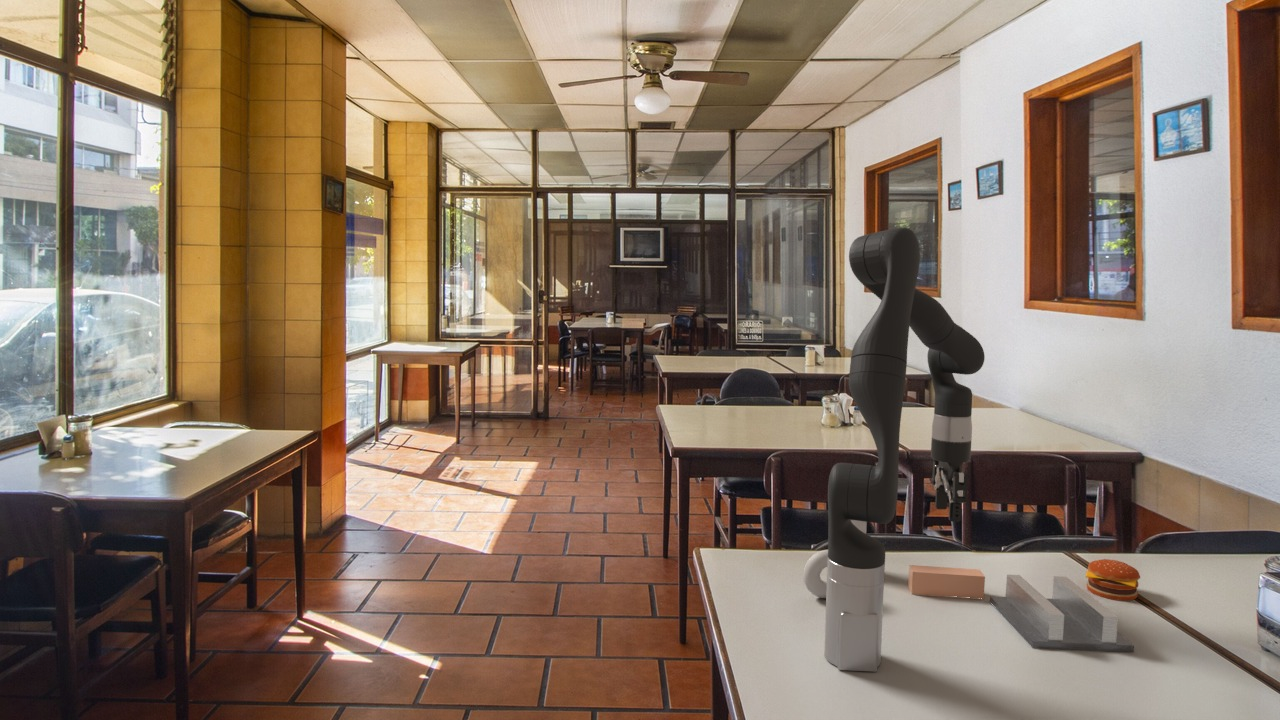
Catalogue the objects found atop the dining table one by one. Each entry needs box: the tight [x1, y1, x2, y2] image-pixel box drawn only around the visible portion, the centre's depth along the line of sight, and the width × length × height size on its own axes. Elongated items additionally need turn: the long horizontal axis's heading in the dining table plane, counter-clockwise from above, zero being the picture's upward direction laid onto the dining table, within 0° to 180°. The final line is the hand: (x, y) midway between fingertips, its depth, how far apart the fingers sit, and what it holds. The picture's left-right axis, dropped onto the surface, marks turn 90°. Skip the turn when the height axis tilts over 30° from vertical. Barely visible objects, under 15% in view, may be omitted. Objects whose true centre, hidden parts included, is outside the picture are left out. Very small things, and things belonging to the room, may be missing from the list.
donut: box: [802, 549, 828, 599], centre depth 158 cm, size 10×4×10 cm, turn 101°
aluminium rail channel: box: [989, 574, 1135, 653], centre depth 146 cm, size 20×17×6 cm
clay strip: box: [907, 564, 986, 600], centre depth 161 cm, size 4×14×5 cm, turn 81°
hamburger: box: [1085, 558, 1141, 602], centre depth 163 cm, size 9×10×7 cm
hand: (947, 514), depth 160 cm, fingers open, 8 cm apart
